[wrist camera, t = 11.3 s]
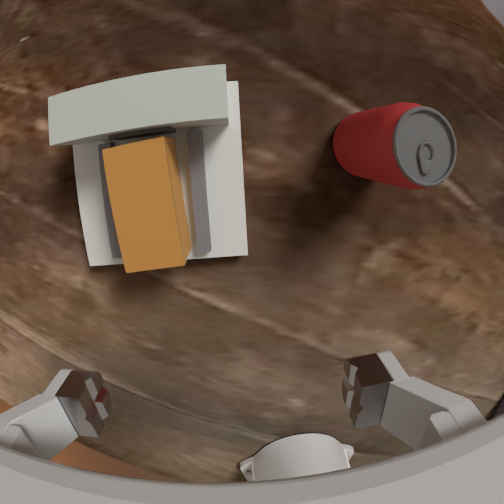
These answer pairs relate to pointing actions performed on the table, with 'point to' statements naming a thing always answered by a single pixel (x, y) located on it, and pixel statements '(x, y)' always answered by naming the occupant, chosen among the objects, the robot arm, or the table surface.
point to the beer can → (397, 145)
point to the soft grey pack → (499, 409)
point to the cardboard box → (148, 204)
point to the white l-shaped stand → (152, 126)
